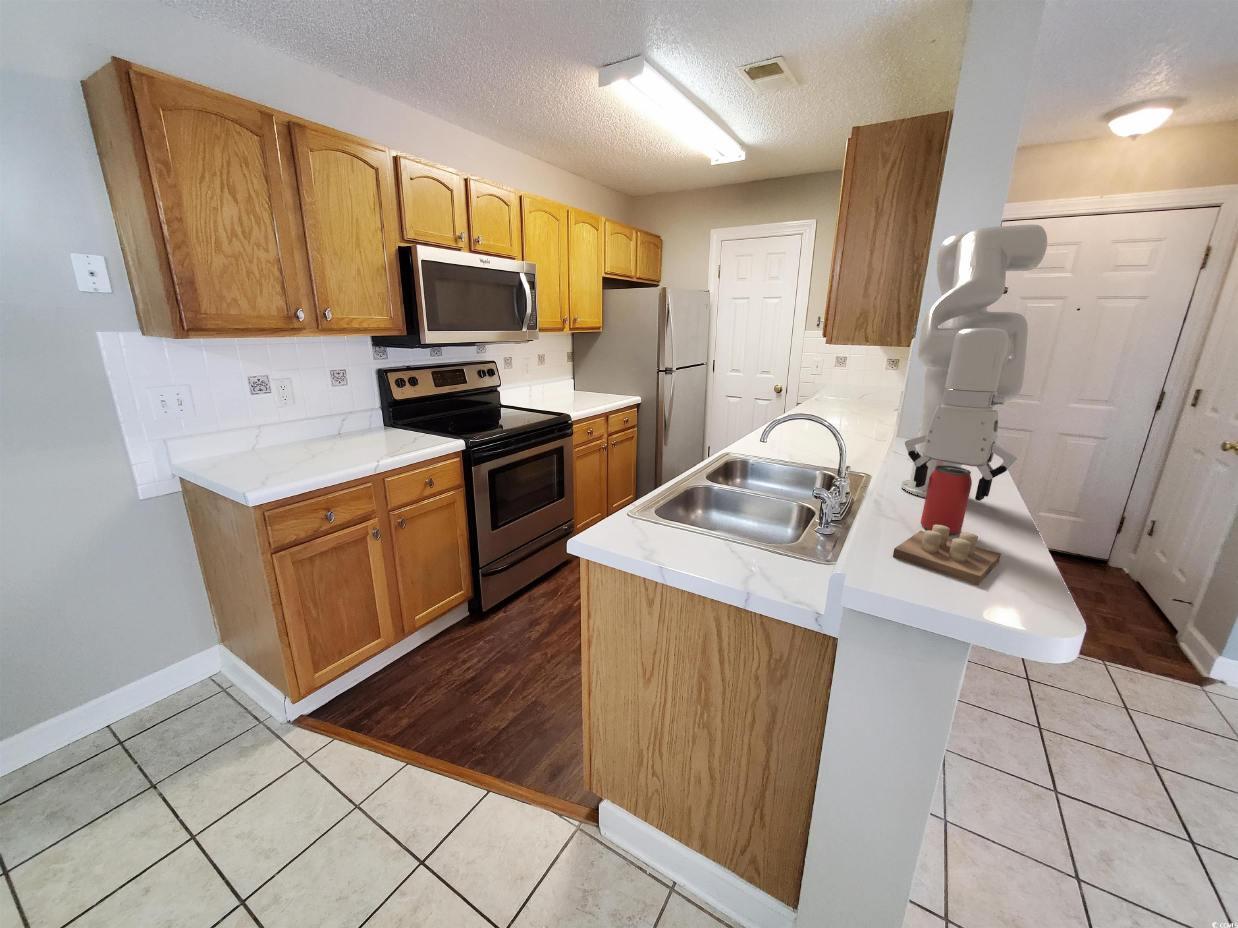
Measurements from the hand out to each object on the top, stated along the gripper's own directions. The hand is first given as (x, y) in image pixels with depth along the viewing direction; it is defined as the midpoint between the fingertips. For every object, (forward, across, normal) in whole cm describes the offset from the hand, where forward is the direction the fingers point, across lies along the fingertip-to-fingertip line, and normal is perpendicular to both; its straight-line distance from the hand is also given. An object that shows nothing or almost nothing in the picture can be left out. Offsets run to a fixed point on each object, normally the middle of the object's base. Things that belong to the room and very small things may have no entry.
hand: (948, 492), depth 90 cm
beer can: (+8, 0, -1) cm, 8 cm away
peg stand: (+8, -5, +13) cm, 16 cm away
